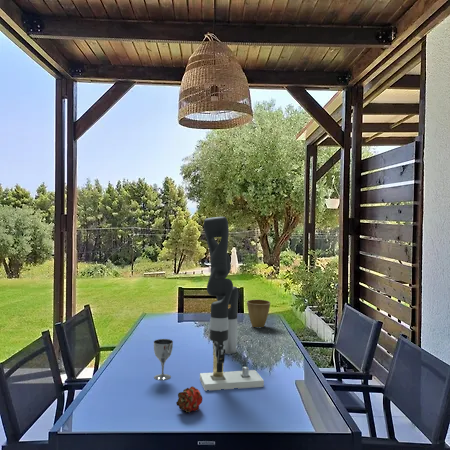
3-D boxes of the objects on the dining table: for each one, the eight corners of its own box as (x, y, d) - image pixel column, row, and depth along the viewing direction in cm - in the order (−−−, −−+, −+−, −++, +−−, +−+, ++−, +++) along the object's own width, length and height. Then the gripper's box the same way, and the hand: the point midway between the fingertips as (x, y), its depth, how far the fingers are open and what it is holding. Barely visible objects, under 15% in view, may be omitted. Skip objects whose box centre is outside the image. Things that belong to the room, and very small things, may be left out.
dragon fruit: (182, 423, 136) (190, 412, 148) (203, 409, 136) (210, 399, 148) (169, 400, 138) (178, 391, 150) (189, 386, 138) (197, 378, 149)
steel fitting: (241, 381, 170) (241, 366, 170) (247, 380, 171) (247, 366, 171) (243, 383, 168) (243, 368, 168) (249, 383, 168) (249, 368, 168)
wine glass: (153, 381, 168) (154, 344, 168) (152, 374, 175) (152, 339, 175) (173, 379, 170) (174, 343, 170) (170, 373, 177) (171, 338, 178)
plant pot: (242, 325, 266) (242, 300, 266) (262, 323, 272) (262, 299, 272) (253, 330, 252) (254, 304, 252) (274, 328, 259) (274, 303, 259)
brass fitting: (212, 373, 168) (212, 351, 168) (222, 373, 169) (222, 351, 169) (214, 377, 164) (214, 355, 164) (224, 376, 165) (224, 354, 165)
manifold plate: (199, 379, 171) (199, 373, 171) (255, 375, 176) (255, 370, 176) (204, 390, 159) (204, 384, 159) (263, 386, 165) (263, 380, 165)
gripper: (206, 323, 173) (206, 364, 173) (213, 332, 159) (212, 376, 159) (224, 323, 174) (223, 363, 174) (232, 331, 161) (231, 375, 161)
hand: (218, 369), depth 167 cm, fingers closed on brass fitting, 4 cm apart
